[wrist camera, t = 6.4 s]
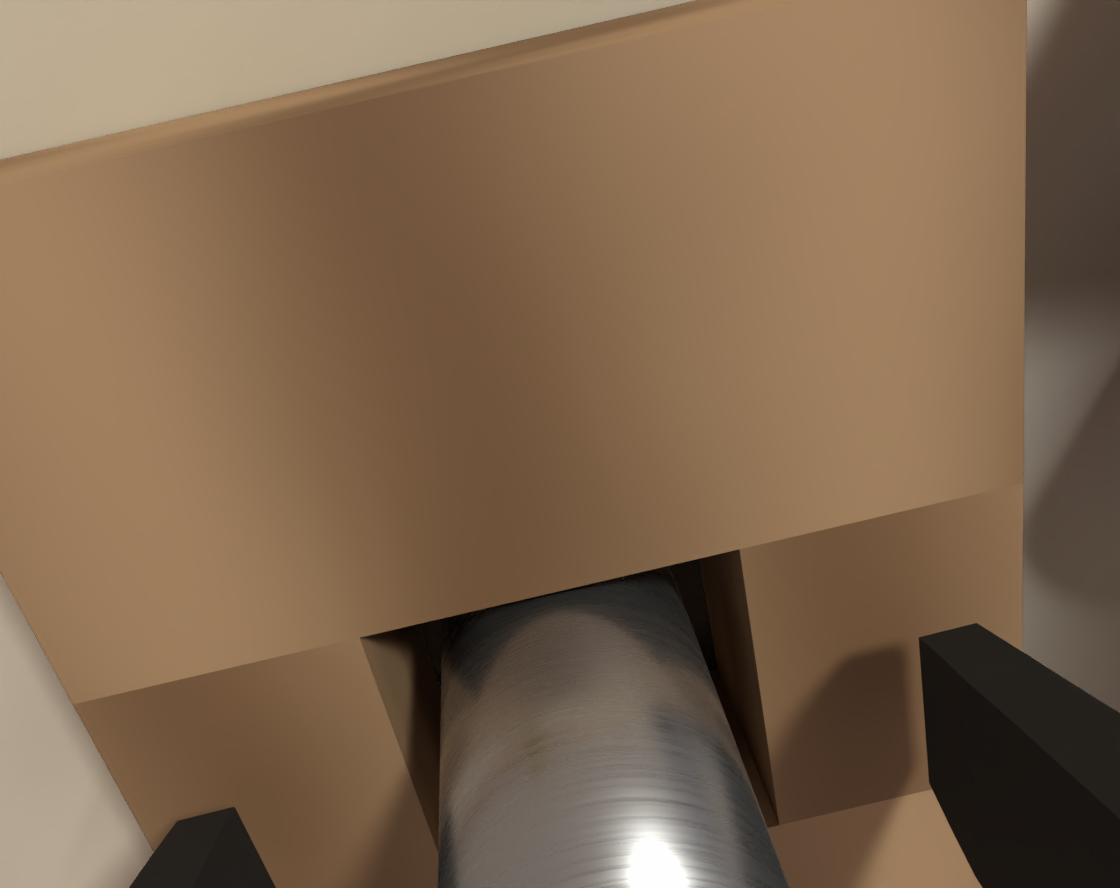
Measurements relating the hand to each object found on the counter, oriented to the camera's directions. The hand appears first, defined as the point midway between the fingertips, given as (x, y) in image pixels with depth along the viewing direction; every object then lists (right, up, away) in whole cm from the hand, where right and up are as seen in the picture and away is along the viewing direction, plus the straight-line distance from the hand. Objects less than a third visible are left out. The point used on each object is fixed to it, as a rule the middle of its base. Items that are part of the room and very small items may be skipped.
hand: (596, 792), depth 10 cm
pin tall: (0, +2, +3) cm, 4 cm away
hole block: (0, +2, +3) cm, 4 cm away
